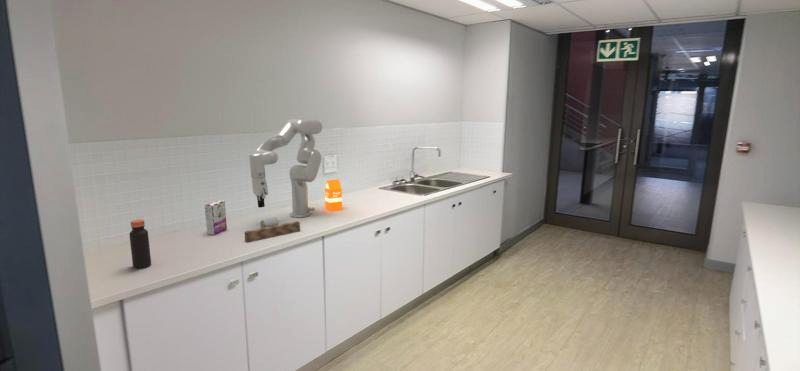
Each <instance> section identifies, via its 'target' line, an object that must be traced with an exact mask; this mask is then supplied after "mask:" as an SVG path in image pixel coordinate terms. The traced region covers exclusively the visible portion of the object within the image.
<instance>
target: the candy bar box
mask: <svg viewBox="0 0 800 371" xmlns="http://www.w3.org/2000/svg"><path fill="white" fill-rule="evenodd" d="M204 210H205V211H204V212H205V213H204V214H205V223H206V232H207V233H206V234H207V235H210V236H216V235H217V234H221V233H223V232H224V231H226V230H228V227H227V226H228V225H227V217H226V216H227V215H226V213H227V211H226V202H225V200H214V201H212V202H209V203H207V204H204Z"/></svg>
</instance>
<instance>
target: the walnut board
mask: <svg viewBox="0 0 800 371" xmlns="http://www.w3.org/2000/svg"><path fill="white" fill-rule="evenodd" d="M300 225H301V222H300V221H297V220H296V221H292V222H287V223H282V224H279V225H276V226H270V227H265V228H261V227H259V228H256V229H252V230H251V229H250V230H246V231H244V232H243V233H244V242H246V243H250V242H255V241H260V240H265V239H268V238H274V237H278V236H283V235H287V234H292V233H297V232H300V231H301V226H300Z"/></svg>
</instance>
